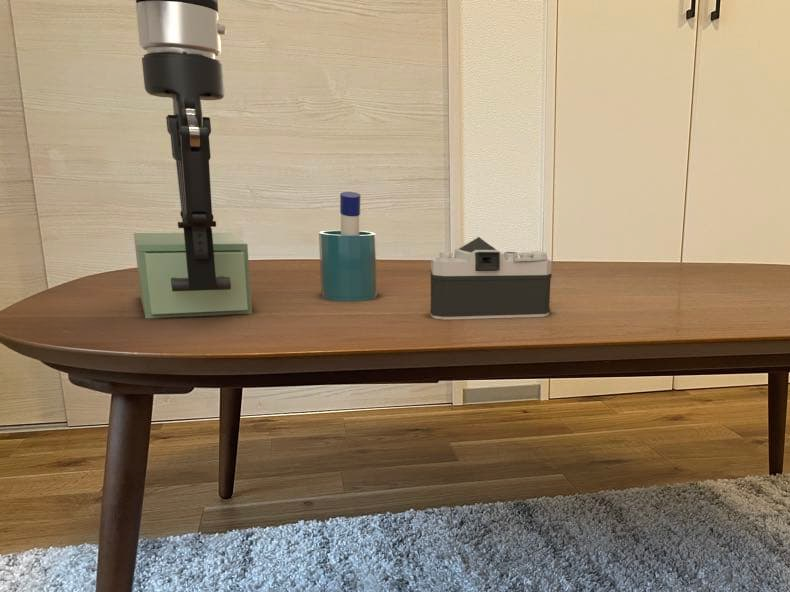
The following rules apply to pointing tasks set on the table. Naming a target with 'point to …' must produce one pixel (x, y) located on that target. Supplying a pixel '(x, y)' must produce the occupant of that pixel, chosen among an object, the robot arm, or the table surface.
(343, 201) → the marker
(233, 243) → the cabinet
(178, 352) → the table surface
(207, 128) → the robot arm
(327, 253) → the pen cup
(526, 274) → the camera
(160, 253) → the drawer
